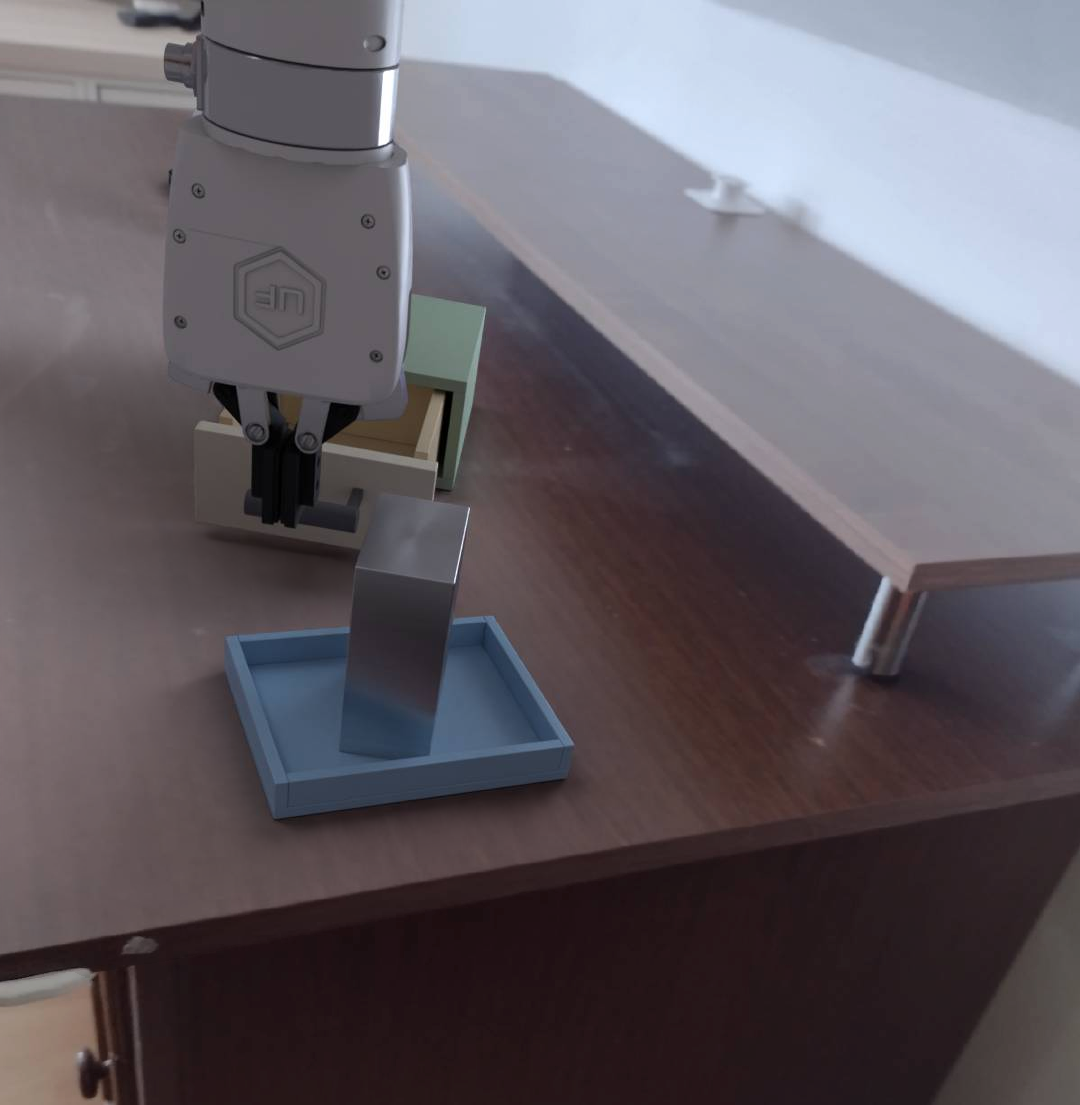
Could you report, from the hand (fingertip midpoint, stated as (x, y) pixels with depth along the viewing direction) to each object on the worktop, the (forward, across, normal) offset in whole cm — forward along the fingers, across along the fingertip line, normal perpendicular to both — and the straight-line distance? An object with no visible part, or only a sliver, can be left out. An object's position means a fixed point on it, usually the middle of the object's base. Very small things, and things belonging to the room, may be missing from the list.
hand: (285, 512), depth 58 cm
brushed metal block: (+7, +7, -5) cm, 11 cm away
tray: (+8, +7, -5) cm, 12 cm away
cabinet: (+7, 0, +28) cm, 29 cm away
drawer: (+7, 0, +14) cm, 15 cm away
